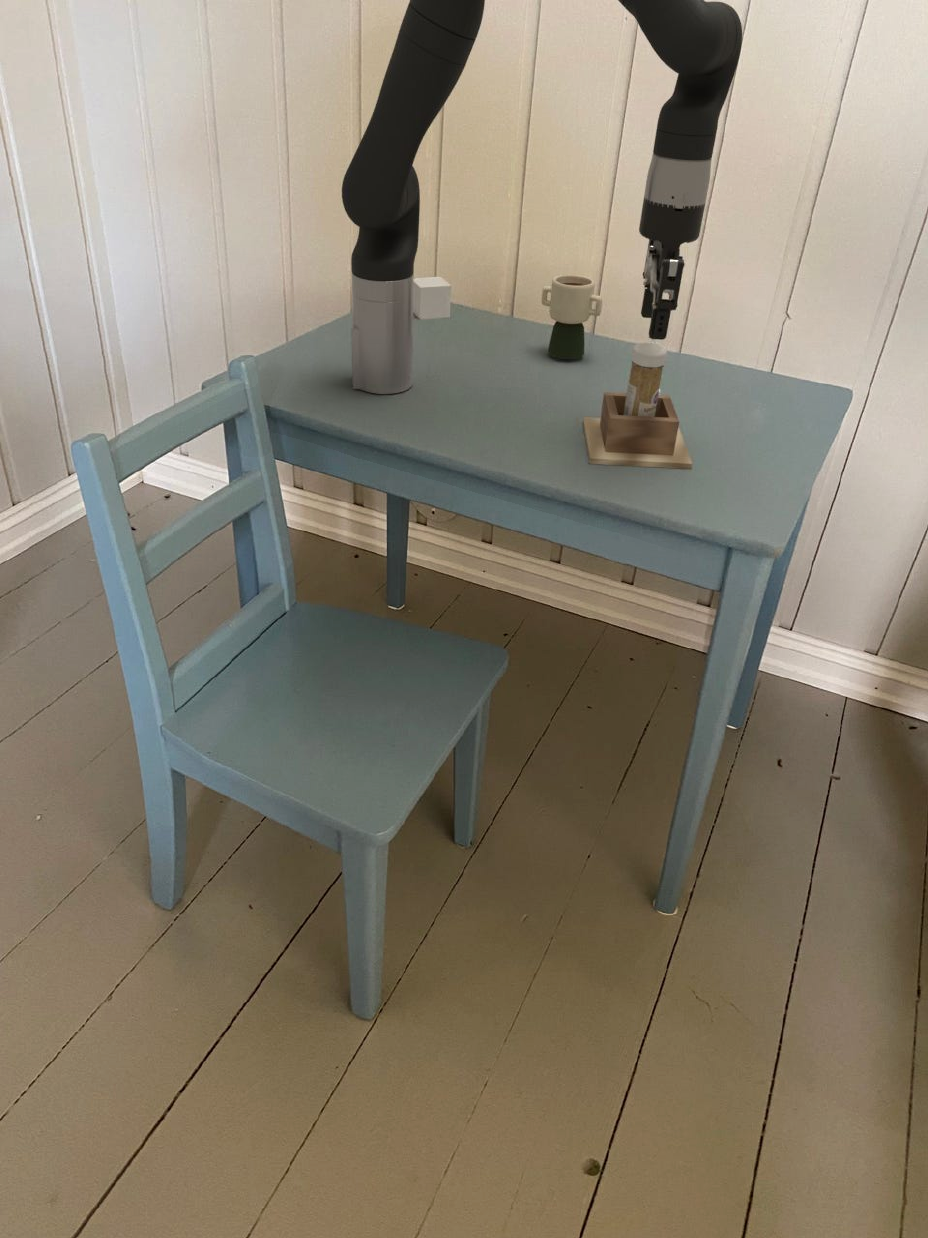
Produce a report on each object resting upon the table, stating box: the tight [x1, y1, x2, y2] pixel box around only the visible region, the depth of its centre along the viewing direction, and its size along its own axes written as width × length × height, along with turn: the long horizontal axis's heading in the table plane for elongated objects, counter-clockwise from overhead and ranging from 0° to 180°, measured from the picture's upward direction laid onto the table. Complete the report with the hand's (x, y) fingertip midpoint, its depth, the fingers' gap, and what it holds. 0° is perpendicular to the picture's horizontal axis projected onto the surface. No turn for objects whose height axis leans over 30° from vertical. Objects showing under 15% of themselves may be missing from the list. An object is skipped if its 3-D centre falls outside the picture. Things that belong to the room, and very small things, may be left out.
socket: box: [582, 391, 693, 470], centre depth 131 cm, size 14×14×6 cm
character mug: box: [541, 274, 603, 360], centre depth 158 cm, size 11×7×13 cm, turn 61°
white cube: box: [413, 276, 452, 320], centre depth 176 cm, size 6×6×6 cm
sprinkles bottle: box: [623, 342, 668, 417], centre depth 129 cm, size 5×5×14 cm
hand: (652, 327), depth 123 cm, fingers open, 8 cm apart
